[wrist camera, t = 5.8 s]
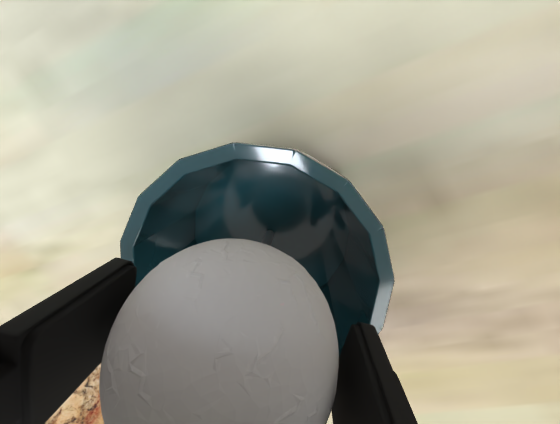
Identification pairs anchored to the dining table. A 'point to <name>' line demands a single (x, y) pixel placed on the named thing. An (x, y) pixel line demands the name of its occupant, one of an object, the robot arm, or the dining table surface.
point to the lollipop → (222, 341)
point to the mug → (270, 222)
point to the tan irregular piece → (81, 404)
